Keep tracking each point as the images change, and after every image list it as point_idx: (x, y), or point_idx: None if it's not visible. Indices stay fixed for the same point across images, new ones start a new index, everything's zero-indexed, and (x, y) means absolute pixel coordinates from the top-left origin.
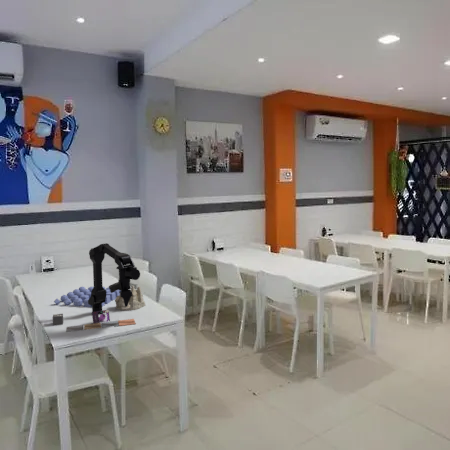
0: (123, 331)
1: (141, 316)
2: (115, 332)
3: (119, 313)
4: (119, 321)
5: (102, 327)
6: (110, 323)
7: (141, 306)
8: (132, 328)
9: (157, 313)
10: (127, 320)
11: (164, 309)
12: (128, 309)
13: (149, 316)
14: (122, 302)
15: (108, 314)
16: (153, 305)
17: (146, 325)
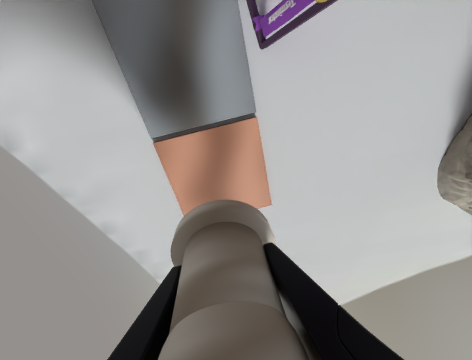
0: (55, 185)
1: (309, 228)
2: (22, 139)
3: (423, 95)
4: (236, 129)
5: (93, 3)
6: (198, 65)
7: (464, 207)
8: (117, 221)
9: (327, 278)
10: (247, 176)
11: (369, 290)
12: (458, 147)
13: (297, 258)
14: (198, 279)
15: (300, 15)
16: (451, 247)
17: (166, 269)
